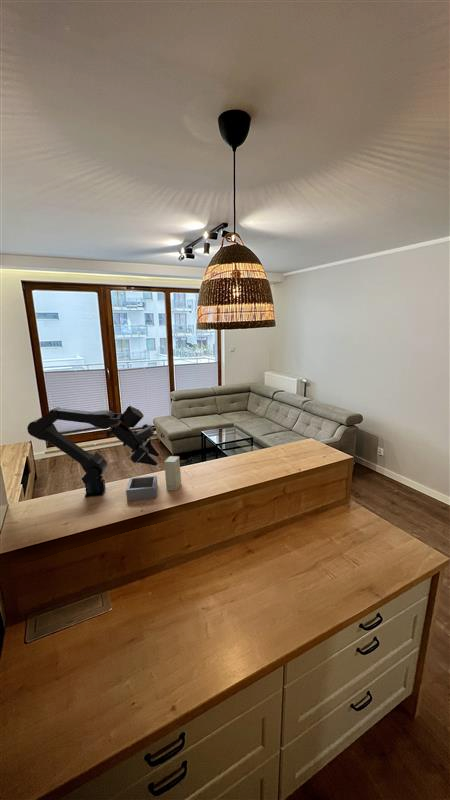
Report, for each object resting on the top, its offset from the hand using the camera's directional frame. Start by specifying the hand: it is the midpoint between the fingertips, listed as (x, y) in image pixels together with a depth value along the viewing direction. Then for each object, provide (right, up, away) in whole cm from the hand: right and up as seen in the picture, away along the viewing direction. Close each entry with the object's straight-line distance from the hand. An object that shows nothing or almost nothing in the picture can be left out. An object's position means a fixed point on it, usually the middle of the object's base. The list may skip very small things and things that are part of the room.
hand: (157, 460), depth 127 cm
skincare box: (+6, -12, +3) cm, 14 cm away
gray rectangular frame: (-6, -13, -1) cm, 14 cm away
